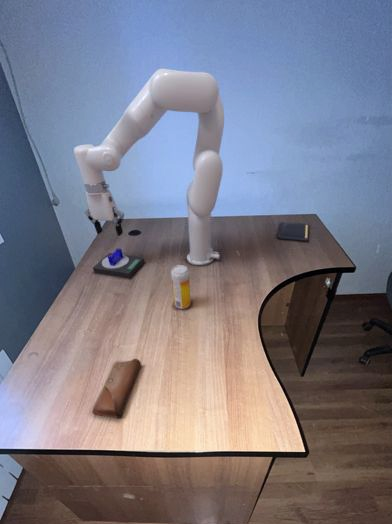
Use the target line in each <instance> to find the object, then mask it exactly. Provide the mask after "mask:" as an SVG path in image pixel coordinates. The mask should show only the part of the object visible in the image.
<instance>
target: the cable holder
mask: <svg viewBox="0 0 392 524" xmlns="http://www.w3.org/2000/svg"><path fill="white" fill-rule="evenodd" d="M112 253H113V255H109V256H108V260H109V263H110V265H111V266H115V265H116V264H117V263H118V262H119V261H120V260H121V259H122V258H123V255H124V254H123V250H122V248H120V247H117V248H116V249H115V250H114V252H112Z"/></svg>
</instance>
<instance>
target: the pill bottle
mask: <svg viewBox="0 0 392 524" xmlns="http://www.w3.org/2000/svg"><path fill="white" fill-rule="evenodd" d="M170 278H171V286H172V294H173V295H172V296H173V303H174V306H175V307H176V308H177V309H179V310H186V309H188V308H189V307H190V305H191V287H190V272H189V269H188V267H187V266H186V265H183V264H178V265H174V266H172V268H171V271H170Z"/></svg>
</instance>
